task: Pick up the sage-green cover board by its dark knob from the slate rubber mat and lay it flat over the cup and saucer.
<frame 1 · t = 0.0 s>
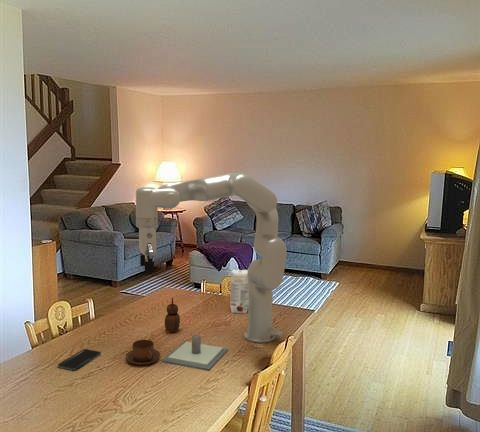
hand: (147, 268, 176), 31 cm above the table, tool pointing down, fingers open, 9 cm apart
phone: (80, 362, 172), on the table
rubber mat: (196, 355, 177), on the table
juice carton: (239, 311, 226), on the table
cup and saucer: (143, 360, 173), on the table
cover board: (196, 354, 177), point 1 cm above the table, touching rubber mat
wooden figurine: (172, 331, 200), on the table
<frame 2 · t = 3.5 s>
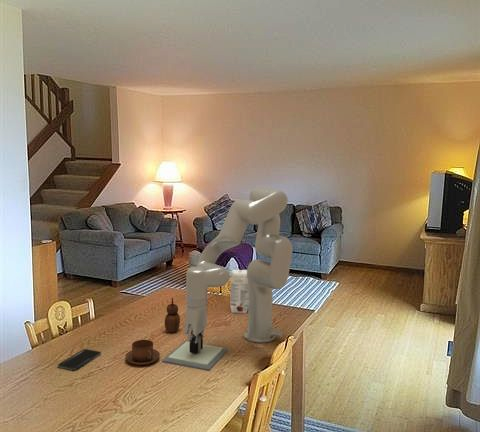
hand: (196, 350, 177), 2 cm above the table, tool pointing down, fingers closed on cover board, 3 cm apart
cover board: (196, 354, 177), point 1 cm above the table, touching gripper, rubber mat
everything else where it was.
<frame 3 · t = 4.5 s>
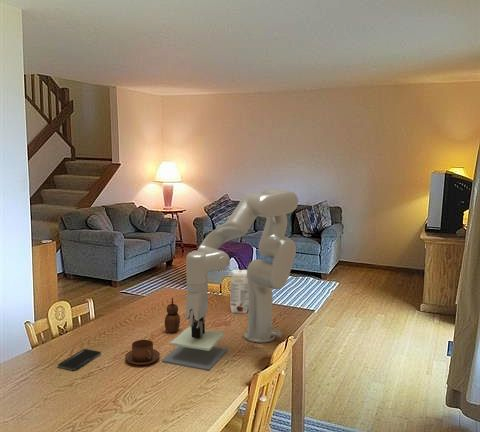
hand: (198, 335, 177), 8 cm above the table, tool pointing down, fingers closed on cover board, 3 cm apart
cover board: (198, 339, 177), point 6 cm above the table, touching gripper
everything else where it was.
when the fingers open (9 cm above the table, at t = 8.9 s): cover board drops 2 cm, resting on cup and saucer.
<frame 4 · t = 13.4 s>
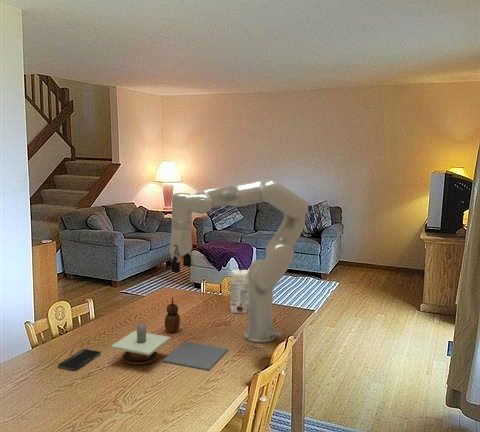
hand: (181, 269, 188), 28 cm above the table, tool pointing down, fingers open, 9 cm apart
cup and saucer: (140, 360, 173), on the table, touching cover board
cover board: (141, 343, 172), point 6 cm above the table, touching cup and saucer
everything else where it was.
at the end: cover board 0.5 cm from the cup and saucer (horizontally); cover board point 5.9 cm above the table; cover board tilted 0° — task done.
